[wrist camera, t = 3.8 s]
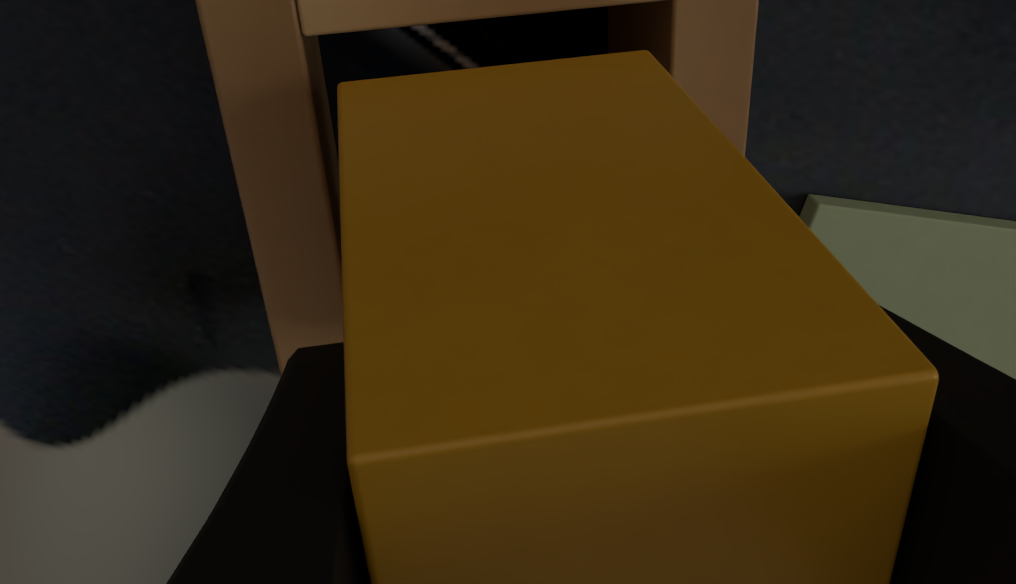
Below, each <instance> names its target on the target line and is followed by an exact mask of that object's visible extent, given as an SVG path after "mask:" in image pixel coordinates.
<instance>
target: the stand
mask: <svg viewBox="0 0 1016 584" xmlns="http://www.w3.org/2000/svg"><path fill="white" fill-rule="evenodd" d="M195 3H196V7H197V12H198V16H199V20H200V25H201V29H202V34H203V38H204V42H205V47H206V51H207V55H208V60H209V64H210V68H211V73H212V77H213V82H214V86H215V90H216V95H217V99H218V103H219V108H220V112H221V116H222V121H223V125H224V130H225V134H226V138H227V143H228V147H229V151H230V156H231V160H232V165H233V169H234V173H235V178H236V182H237V186H238V191H239V195H240V199H241V204H242V208H243V213H244V217H245V221H246V226H247V230H248V234H249V239H250V243H251V248H252V252H253V256H254V261H255V265H256V269H257V274H258V278H259V282H260V287H261V291H262V296H263V300H264V304H265V309H266V313H267V317H268V322H269V326H270V330H271V335H272V339H273V344H274V348H275V352H276V357H277V361H278V365H279V370H280V374H281V376H282V374H283V371H284V368H285V366H286V363H287V361H288V359H289V358H290V357H291V356H292V354H293V353H294V352H295V351H296V350H297V349H298V348H303V347H310V346H318V345H325V344H332V343H340V342H344V337H343V299H342V260H341V222H340V183H339V163H338V157H337V151H336V145H335V138H334V132H333V126H332V120H331V114H330V108H329V102H328V96H327V89H326V83H325V77H324V71H323V65H322V59H321V53H320V46H319V40H318V35H326V34H336V33H346V32H356V31H366V30H376V29H386V28H396V27H406V26H416V25H426V24H436V23H446V22H455V21H465V20H475V19H485V18H495V17H505V16H515V15H525V14H535V13H545V12H555V11H565V10H575V9H585V8H595V7H605V6H608V54H612V53H621V52H631V51H640V50H647V51H649V52H650V53H651V54H652V55H653V56H654V57H655V58H656V60H657V61H658V62H659V63H660V64H661V65H662V66H663V67H664V68H665V69H666V71H667V72H668V73H669V74H670V75H671V76H672V77H673V78H674V79H675V81H676V82H677V83H678V84H679V85H680V86H681V87H682V88H683V89H684V90H685V92H686V93H687V94H688V95H689V96H690V97H691V98H692V99H693V100H694V102H695V103H696V104H697V105H698V106H699V107H700V108H701V109H702V110H703V111H704V113H705V114H706V115H707V116H708V117H709V118H710V119H711V120H712V121H713V122H714V124H715V125H716V126H717V127H718V128H719V129H720V130H721V131H722V132H723V134H724V135H725V136H726V137H727V138H728V139H729V140H730V141H731V142H732V143H733V145H734V146H735V147H736V148H737V149H738V150H739V151H740V152H741V153H742V155H743V156H744V157H745V149H746V138H747V126H748V115H749V104H750V93H751V81H752V70H753V59H754V48H755V37H756V25H757V14H758V3H759V0H195Z"/></svg>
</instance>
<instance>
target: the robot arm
mask: <svg viewBox="0 0 1016 584" xmlns="http://www.w3.org/2000/svg"><path fill="white" fill-rule="evenodd" d="M879 306H880V305H879ZM880 307H881V308H882V309H883V310H884V311H885V313H886V314H887V315H888V316H889V317H890V318H891V319H892V320H893V321H894V322H895V324H896V325H897V326H898V327H899V328H900V329H901V330H902V331H903V332H904V334H905V335H906V336H907V337H908V338H909V339H910V340H911V341H912V342H913V343H914V345H915V346H916V347H917V348H918V349H919V350H920V351H921V352H922V353H923V355H924V356H925V357H926V358H927V359H928V360H929V361H930V362H931V363H932V364H933V366H934V367H935V368H936V369H937V372H938V375H939V382H938V386H937V390H936V394H935V398H934V402H933V407H932V411H931V415H930V419H929V423H928V427H927V431H926V436H925V440H924V444H923V448H922V452H921V456H920V460H919V464H918V469H917V473H916V477H915V481H914V485H913V489H912V493H911V498H910V502H909V506H908V510H907V514H906V518H905V522H904V527H903V531H902V535H901V539H900V543H899V547H898V551H897V555H896V560H895V564H894V568H893V572H892V576H891V580H890V584H1016V379H1014V378H1012V377H1010V376H1009V375H1007V374H1005V373H1003V372H1001V371H999V370H997V369H995V368H994V367H992V366H990V365H988V364H986V363H984V362H982V361H980V360H979V359H977V358H975V357H973V356H971V355H969V354H968V353H966V352H964V351H962V350H960V349H958V348H957V347H955V346H953V345H951V344H949V343H947V342H946V341H944V340H942V339H940V338H938V337H936V336H935V335H933V334H931V333H929V332H927V331H926V330H924V329H922V328H920V327H918V326H916V325H915V324H913V323H911V322H909V321H907V320H906V319H904V318H902V317H900V316H898V315H897V314H895V313H893V312H891V311H889V310H887V309H885V308H884V307H882V306H880ZM167 584H370V579H369V574H368V569H367V564H366V559H365V554H364V549H363V543H362V538H361V533H360V528H359V523H358V518H357V513H356V507H355V502H354V497H353V492H352V487H351V482H350V476H349V471H348V466H347V453H346V414H345V376H344V342H340V343H332V344H325V345H318V346H310V347H303V348H298V349H297V350H296V351H295V352H294V353H293V354H292V356H291V357H290V358H289V359H288V361H287V363H286V366H285V368H284V371H283V374H282V376H281V378H280V381H279V383H278V385H277V388H276V390H275V392H274V394H273V397H272V399H271V401H270V403H269V406H268V407H267V409H266V412H265V414H264V416H263V418H262V420H261V422H260V424H259V426H258V428H257V430H256V432H255V434H254V436H253V438H252V440H251V442H250V444H249V446H248V448H247V449H246V451H245V453H244V455H243V457H242V459H241V460H240V462H239V464H238V466H237V468H236V469H235V471H234V473H233V475H232V477H231V479H230V480H229V482H228V484H227V486H226V488H225V489H224V491H223V493H222V495H221V497H220V498H219V500H218V502H217V504H216V505H215V507H214V509H213V511H212V512H211V514H210V516H209V517H208V519H207V521H206V522H205V524H204V525H203V527H202V529H201V530H200V532H199V534H198V535H197V536H196V538H195V540H194V541H193V543H192V544H191V546H190V547H189V549H188V551H187V552H186V554H185V555H184V557H183V558H182V560H181V562H180V563H179V565H178V566H177V568H176V570H175V571H174V573H173V574H172V576H171V577H170V579H169V580H168V582H167Z"/></svg>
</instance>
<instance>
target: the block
mask: <svg viewBox="0 0 1016 584" xmlns="http://www.w3.org/2000/svg"><path fill="white" fill-rule="evenodd" d="M337 107H338V145H339V183H340V222H341V260H342V299H343V337H344V376H345V414H346V453H347V466H348V471H349V476H350V482H351V487H352V492H353V497H354V502H355V507H356V513H357V518H358V523H359V528H360V533H361V538H362V543H363V549H364V554H365V559H366V564H367V569H368V574H369V579H370V584H890V580H891V576H892V572H893V568H894V564H895V560H896V555H897V551H898V547H899V543H900V539H901V535H902V531H903V527H904V522H905V518H906V514H907V510H908V506H909V502H910V498H911V493H912V489H913V485H914V481H915V477H916V473H917V469H918V464H919V460H920V456H921V452H922V448H923V444H924V440H925V436H926V431H927V427H928V423H929V419H930V415H931V411H932V407H933V402H934V398H935V394H936V390H937V386H938V382H939V375H938V372H937V369H936V368H935V367H934V366H933V364H932V363H931V362H930V361H929V360H928V359H927V358H926V357H925V356H924V355H923V353H922V352H921V351H920V350H919V349H918V348H917V347H916V346H915V345H914V343H913V342H912V341H911V340H910V339H909V338H908V337H907V336H906V335H905V334H904V332H903V331H902V330H901V329H900V328H899V327H898V326H897V325H896V324H895V322H894V321H893V320H892V319H891V318H890V317H889V316H888V315H887V314H886V313H885V311H884V310H883V309H882V308H881V307H880V306H879V305H878V304H877V303H876V301H875V300H874V299H873V298H872V297H871V296H870V295H869V294H868V293H867V292H866V290H865V289H864V288H863V287H862V286H861V285H860V284H859V283H858V282H857V280H856V279H855V278H854V277H853V276H852V275H851V274H850V273H849V272H848V271H847V269H846V268H845V267H844V266H843V265H842V264H841V263H840V262H839V261H838V259H837V258H836V257H835V256H834V255H833V254H832V253H831V252H830V251H829V250H828V248H827V247H826V246H825V245H824V244H823V243H822V242H821V241H820V240H819V239H818V237H817V236H816V235H815V234H814V233H813V232H812V231H811V230H810V229H809V227H808V226H807V225H806V224H805V223H804V222H803V221H802V220H801V219H800V218H799V216H798V215H797V214H796V213H795V212H794V211H793V210H792V209H791V208H790V206H789V205H788V204H787V203H786V202H785V201H784V200H783V199H782V198H781V197H780V195H779V194H778V193H777V192H776V191H775V190H774V189H773V188H772V187H771V185H770V184H769V183H768V182H767V181H766V180H765V179H764V178H763V177H762V176H761V174H760V173H759V172H758V171H757V170H756V169H755V168H754V167H753V166H752V164H751V163H750V162H749V161H748V160H747V159H746V158H745V157H744V156H743V155H742V153H741V152H740V151H739V150H738V149H737V148H736V147H735V146H734V145H733V143H732V142H731V141H730V140H729V139H728V138H727V137H726V136H725V135H724V134H723V132H722V131H721V130H720V129H719V128H718V127H717V126H716V125H715V124H714V122H713V121H712V120H711V119H710V118H709V117H708V116H707V115H706V114H705V113H704V111H703V110H702V109H701V108H700V107H699V106H698V105H697V104H696V103H695V102H694V100H693V99H692V98H691V97H690V96H689V95H688V94H687V93H686V92H685V90H684V89H683V88H682V87H681V86H680V85H679V84H678V83H677V82H676V81H675V79H674V78H673V77H672V76H671V75H670V74H669V73H668V72H667V71H666V69H665V68H664V67H663V66H662V65H661V64H660V63H659V62H658V61H657V60H656V58H655V57H654V56H653V55H652V54H651V53H650V52H649V51H647V50H640V51H631V52H621V53H612V54H603V55H593V56H584V57H574V58H565V59H556V60H546V61H537V62H527V63H518V64H509V65H499V66H490V67H480V68H471V69H461V70H452V71H443V72H433V73H424V74H414V75H405V76H396V77H386V78H377V79H367V80H358V81H349V82H341V83H339V84H338V86H337Z"/></svg>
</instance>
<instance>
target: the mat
mask: <svg viewBox="0 0 1016 584" xmlns="http://www.w3.org/2000/svg"><path fill="white" fill-rule="evenodd" d="M799 218H800V219H801V220H802V221H803V222H804V223H805V224H806V225H807V226H808V227H809V229H810V230H811V231H812V232H813V233H814V234H815V235H816V236H817V237H818V239H819V240H820V241H821V242H822V243H823V244H824V245H825V246H826V247H827V248H828V250H829V251H830V252H831V253H832V254H833V255H834V256H835V257H836V258H837V259H838V261H839V262H840V263H841V264H842V265H843V266H844V267H845V268H846V269H847V271H848V272H849V273H850V274H851V275H852V276H853V277H854V278H855V279H856V280H857V282H858V283H859V284H860V285H861V286H862V287H863V288H864V289H865V290H866V292H867V293H868V294H869V295H870V296H871V297H872V298H873V299H874V300H875V301H876V303H877V304H878V305H880V306H882V307H884V308H885V309H887V310H889V311H891V312H893V313H895V314H897V315H898V316H900V317H902V318H904V319H906V320H907V321H909V322H911V323H913V324H915V325H916V326H918V327H920V328H922V329H924V330H926V331H927V332H929V333H931V334H933V335H935V336H936V337H938V338H940V339H942V340H944V341H946V342H947V343H949V344H951V345H953V346H955V347H957V348H958V349H960V350H962V351H964V352H966V353H968V354H969V355H971V356H973V357H975V358H977V359H979V360H980V361H982V362H984V363H986V364H988V365H990V366H992V367H994V368H995V369H997V370H999V371H1001V372H1003V373H1005V374H1007V375H1009V376H1010V377H1012V378H1014V379H1016V221H1009V220H1002V219H994V218H987V217H979V216H971V215H964V214H956V213H949V212H941V211H934V210H926V209H918V208H911V207H903V206H896V205H888V204H881V203H873V202H865V201H858V200H850V199H843V198H835V197H828V196H820V195H813V194H809V195H808V196H807V199H806V201H805V204H804V206H803V209H802V211H801V214H800V216H799Z"/></svg>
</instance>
